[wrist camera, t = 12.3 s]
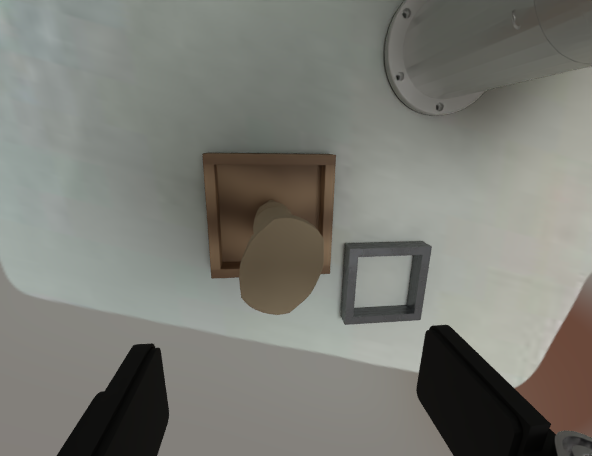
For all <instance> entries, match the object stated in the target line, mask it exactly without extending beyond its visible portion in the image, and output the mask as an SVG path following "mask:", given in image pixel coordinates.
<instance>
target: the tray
mask: <svg viewBox="0 0 592 456" xmlns="http://www.w3.org/2000/svg"><path fill="white" fill-rule="evenodd" d="M202 155H203V168H204V182H205V196H206V209H207V223H208V237H209V250H210V264H211V278H234V277H239V273H240V263H241V260H242V257H243V254H244V251H245V249H246V246H247V244H248V242H249V240H250V238H251V236H252V235H253V234H254V233H253V225H254V219H255V216H256V213H257V210H258V208H259V207H260V206H262V205H264V204H265V203H267V202H268V201H269V200H274V201H275V202H278V203H282V204H284V205H285V206H286V207H287V208H288V209H289V211H290V212H291V213H292V215H294V216H297V217H300V218H302V219H304V220H306V221H308V222H309V223H311V224H312V225H314V226H315V228H316V229H317V230H318V231H319V233H320V234H321V236H322V237H323V239H324V264H323V269H322V271H321V274H330V261H331V242H332V222H333V203H334V183H335V164H336V155H333V154H288V153H203V154H202Z"/></svg>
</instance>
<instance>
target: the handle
mask: <svg viewBox="0 0 592 456" xmlns="http://www.w3.org/2000/svg"><path fill="white" fill-rule="evenodd" d="M253 233H254V234H253V235H252V236H251V238H250V240H249V242H248V244H247V246H246V249H245V251H244V254H243V257H242V260H241V263H240V273H239V280H240V290H241V298H242V299H243V300H244V301H245V302H246V303H247V304H248V305H249V306H250V307H252V308H254V309H255V310H258V311H260V312H263V313H268V314H275V315H280V314H286V313H290V312H291V311H292V310H293V309H295V308H296V307H297V306H298V305H299V304H301V303H302V302H303V301H304V300H305V299H306V298H307V297H308V296H309V295H310V294H311V292H312V290H313V289H314V287H315V285H316V283H317V281H318V278H319V276H320V274H321V271H322V269H323V264H324V239H323V237H322V236H321V234H320V233H319V231H318V230H317V229H316V228H315V226H314V225H312V224H311V223H309V222H308V221H306V220H304V219H302V218H300V217H297V216H294V215H292V213H291V212H290V211H289V209H288V208H287V207H286V206H285V205H284V204H282V203H278V202H275V201H274V200H269V201H268V202H267V203H265V204H264V205H262V206H260V207H259V208H258V210H257V213H256V216H255V219H254V225H253Z"/></svg>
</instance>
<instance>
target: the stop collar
mask: <svg viewBox="0 0 592 456" xmlns="http://www.w3.org/2000/svg"><path fill="white" fill-rule="evenodd" d="M431 248H432V247H431V246H430V245H428V244H426V243H425V242H423V241H413V242H377V243H345V255H344V270H343V286H342V301H341V318H342V320H343V322H344V324H345V325H348V324H364V323H380V322H396V321H412V320H421V313H422V307H423V300H424V294H425V287H426V281H427V274H428V268H429V261H430V255H431ZM401 255H413V261H412V269H411V276H410V283H409V291H408V298H407V305H401V306H383V307H365V308H354V301H355V288H356V275H357V263H358V257H372V256H401Z"/></svg>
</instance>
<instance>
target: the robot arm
mask: <svg viewBox="0 0 592 456" xmlns="http://www.w3.org/2000/svg"><path fill="white" fill-rule="evenodd" d="M403 15H404V17H403ZM384 55H385V68H386V72H387V76H388V80H389V82H390V84H391V86H392V88H393V90H394V92H395V93H396V95H397V96H398V98H399V99H400V100H401V101H402V102H403V103H404V104H405V105H406V106H408V107H409V108H411V109H413V110H414V111H416V112H419V113H422V114H425V115H433V116H438V115H447V114H451V113H455V112H458V111H460V110H462V109H464V108H467V107H468V106H469V105H471V104H472V103H474V102H475V101H476V100H477V99H478V98H479V97H480V96H481V95H482V94H483V93H484V92H485V91H486V90H489V89H494V88H498V87H502V86H507V85H511V84H515V83H520V82H524V81H529V80H533V79H537V78H542V77H546V76H550V75H555V74H559V73H563V72H568V71H572V70H577V69H581V68H585V67H590V66H592V0H405V1H404V2H403V3H402V4H401V6H400V7H399V9H398V10H397V12H396V13H395V15H394V17H393V20H392V22H391V24H390V26H389V30H388V34H387V38H386V42H385V54H384ZM396 76H398V80H397V79H396ZM436 107H437V109H436ZM417 396H418V398H419V400H420V402H421V404H422V405H423V407H424V409H425V410H426V412H427V413H428V415H429V416H430V418H431V420H432V421H433V423H434V425H435V426H436V428H437V429H438V431H439V433H440V434H441V436H442V438H443V439H444V441H445V442H446V444H447V445H448V447H449V449H450V450H451V452H452V454H453V455H454V456H592V438H591V437H588V436H586V435H584V434H581V433H577V432H574V431H561V432H558V433H557V435H556V434H555V433H554V432H553V431H551V430H550V429H549V428H550V425H551V424H550V423H549V422H548V421H547V420H546V419H545V418H544V417H543V416H542V415H541V414H540V413H539V412H538V411H537V410H536V409H535V408H534V407H533V406H532V405H531V404H530V403H529V402H528V401H527V400H526V399H524V398H523V397H522V396H521V395H520V394H519V393H518V392H517V391H516V390H515V389H514V388H513V387H512V386H511V385H510V384H509V383H508V382H507V381H506V380H505V379H504V378H503V377H502V376H501V375H500V374H499V373H498V372H497V371H496V370H495V369H494V368H493V367H491V366H490V365H489V364H488V363H487V362H486V361H485V360H484V359H483V358H482V357H481V356H480V355H479V354H478V353H477V352H476V351H475V350H474V349H473V348H472V347H471V346H470V345H469V344H468V343H467V342H466V341H465V340H464V339H463V338H462V337H460V336H459V335H458V334H457V333H456V332H455V331H454V330H453V329H452V328H451V327H450V326H449V325H437V326H431V327H430V329H429V330H427V331H426V334H425V339H424V346H423V352H422V358H421V364H420V370H419V377H418V383H417ZM168 419H169V408H168V401H167V393H166V387H165V379H164V372H163V364H162V357H161V350H160V348H155V346H154V344H137V345H133V347H132V348H131V350H130V351H129V353H128V354H127V356H126V358H125V359H124V361H123V363H122V364H121V366H120V367H119V369H118V371H117V372H116V374H115V376H114V377H113V379H112V380H111V382H110V383H109V385H108V387H107V388H106V390H105V391H104V392H100V393H98V394H97V395H96V396H95V398H94V399H93V400H92V402H91V404H90V405H89V406H88V408H87V410H86V411H85V413H84V414H83V416H82V417H81V419H80V421H79V422H78V423H77V425H76V427H75V428H74V430H73V431H72V433H71V434H70V436H69V437H68V439H67V441H66V442H65V444H64V445H63V447H62V448H61V450H60V452H59V453H58V455H57V456H157V454H158V451H159V448H160V445H161V442H162V439H163V436H164V432H165V430H166V426H167V423H168Z"/></svg>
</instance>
